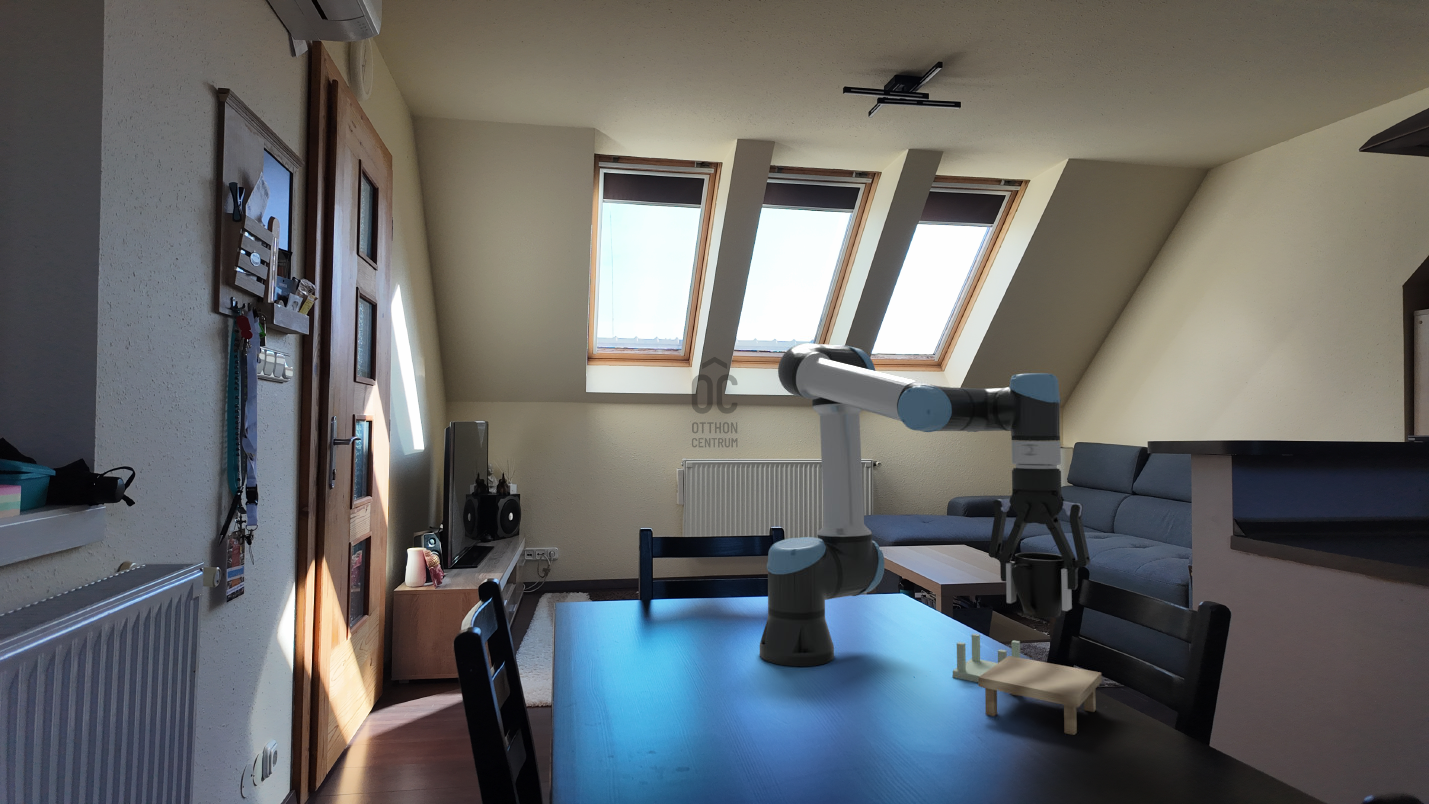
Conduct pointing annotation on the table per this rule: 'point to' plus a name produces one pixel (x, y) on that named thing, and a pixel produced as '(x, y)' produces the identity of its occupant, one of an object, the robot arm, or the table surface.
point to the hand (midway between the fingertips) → (1038, 605)
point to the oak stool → (1042, 686)
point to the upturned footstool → (978, 660)
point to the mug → (1039, 583)
